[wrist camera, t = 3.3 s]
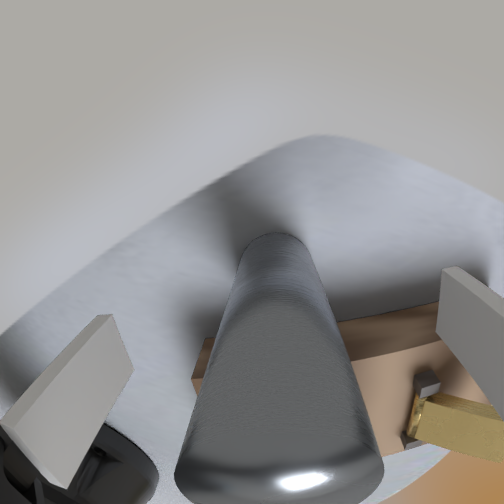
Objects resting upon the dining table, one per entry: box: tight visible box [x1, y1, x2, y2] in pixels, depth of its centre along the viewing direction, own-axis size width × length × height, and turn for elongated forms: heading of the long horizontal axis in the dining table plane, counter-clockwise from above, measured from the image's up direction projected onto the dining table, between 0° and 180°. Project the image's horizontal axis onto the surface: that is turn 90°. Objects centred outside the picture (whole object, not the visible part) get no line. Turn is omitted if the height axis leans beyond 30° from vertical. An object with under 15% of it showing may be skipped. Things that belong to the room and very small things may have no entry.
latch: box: [407, 392, 504, 463], centre depth 12 cm, size 7×4×1 cm
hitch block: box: [191, 292, 496, 457], centre depth 16 cm, size 20×10×5 cm, turn 100°
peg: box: [174, 233, 384, 504], centre depth 11 cm, size 4×4×13 cm
